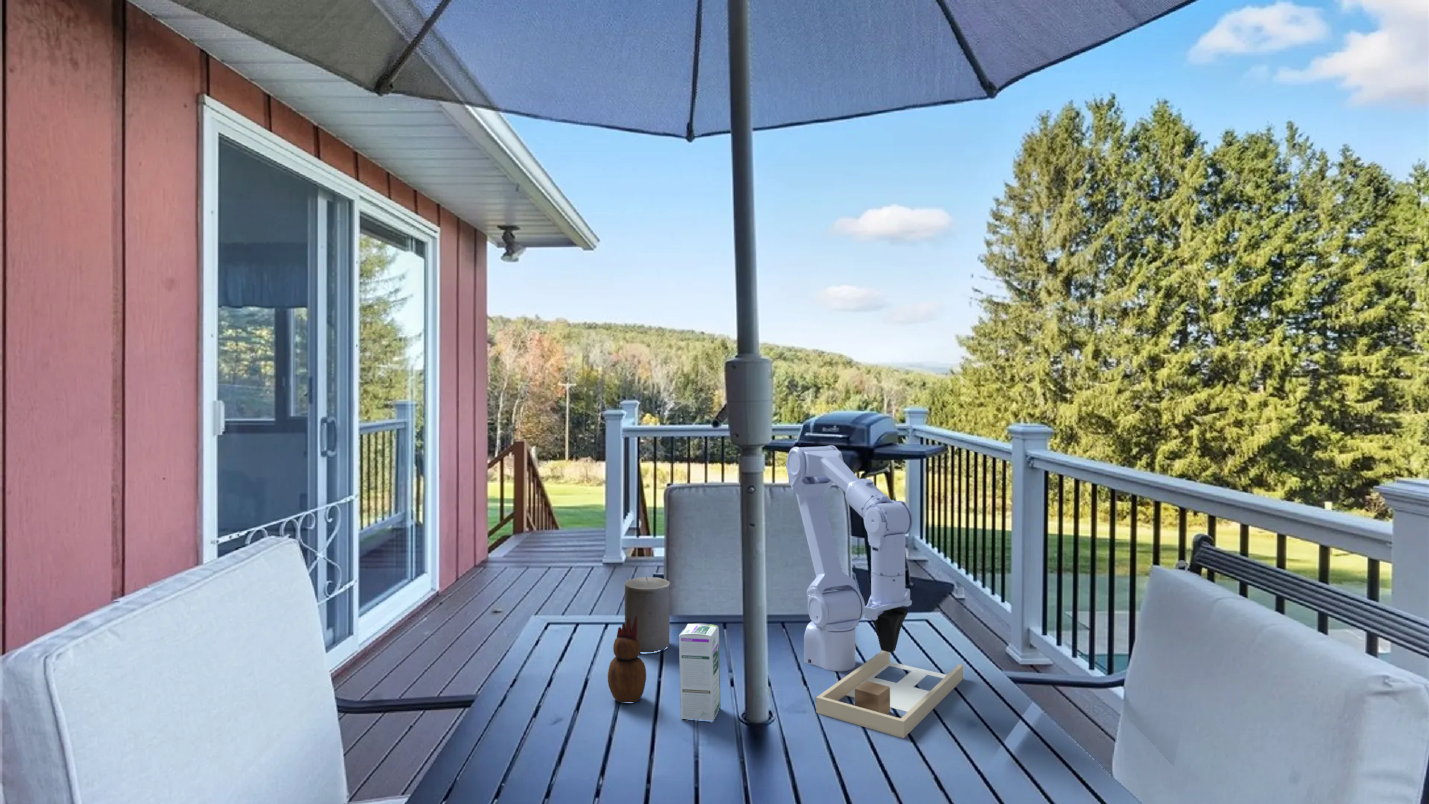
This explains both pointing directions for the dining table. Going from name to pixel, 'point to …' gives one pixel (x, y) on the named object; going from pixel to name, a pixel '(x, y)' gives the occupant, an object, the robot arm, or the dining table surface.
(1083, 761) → the dining table surface
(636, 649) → the wooden figurine
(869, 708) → the walnut block
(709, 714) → the syrup box
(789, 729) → the dining table surface
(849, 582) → the robot arm
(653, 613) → the pillar candle
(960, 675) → the board
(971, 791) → the dining table surface
